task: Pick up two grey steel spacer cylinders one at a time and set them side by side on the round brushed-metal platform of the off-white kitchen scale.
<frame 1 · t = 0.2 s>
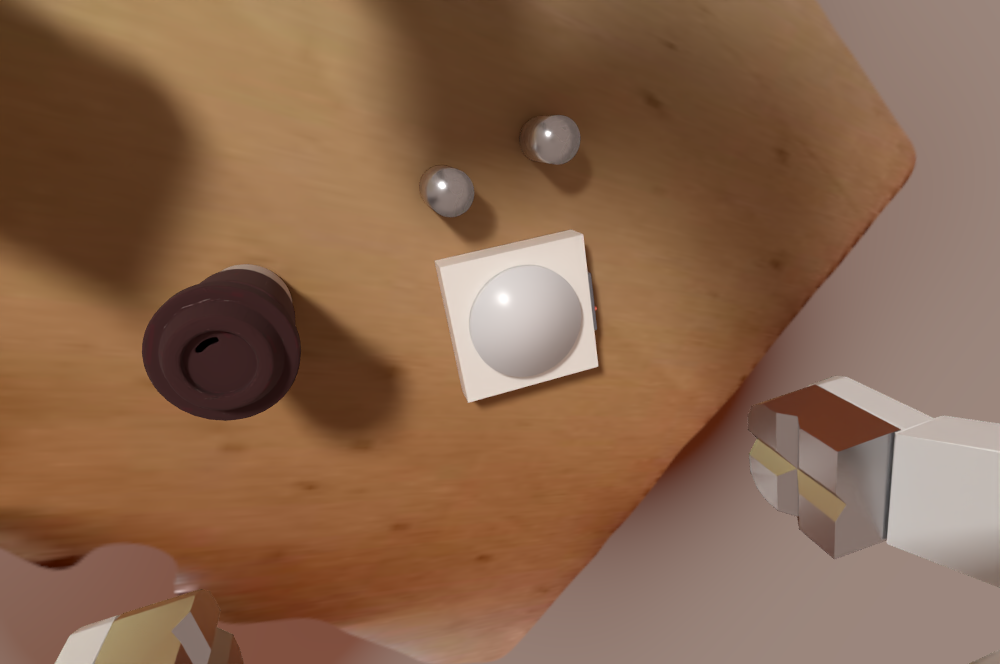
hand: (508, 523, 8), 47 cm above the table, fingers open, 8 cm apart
coffee cup: (250, 302, 52), on the table
spacer b: (539, 139, 54), on the table
scale: (515, 311, 59), on the table
spacer a: (440, 187, 53), on the table
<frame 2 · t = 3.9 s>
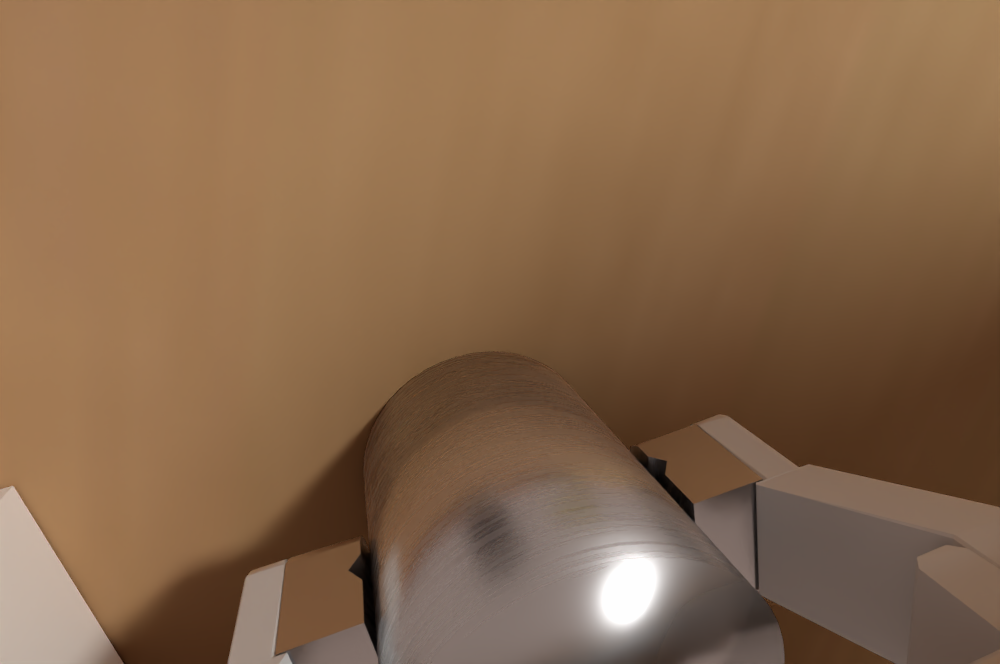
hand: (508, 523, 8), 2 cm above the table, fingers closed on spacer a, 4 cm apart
spacer a: (481, 459, 10), on the table, touching gripper
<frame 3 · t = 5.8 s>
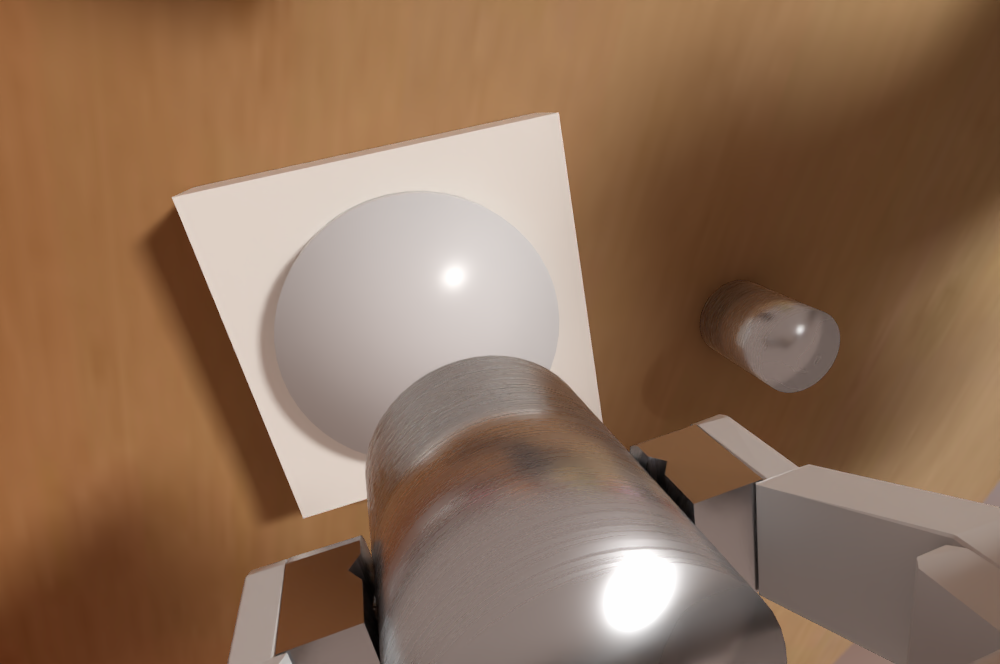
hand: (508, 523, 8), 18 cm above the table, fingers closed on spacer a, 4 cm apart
spacer b: (734, 316, 30), on the table
scale: (414, 307, 26), on the table
spacer a: (483, 463, 10), point 17 cm above the table, touching gripper
when the fingers open (7 cm above the table, at t = 8.1 s): spacer a drops 1 cm, resting on scale.
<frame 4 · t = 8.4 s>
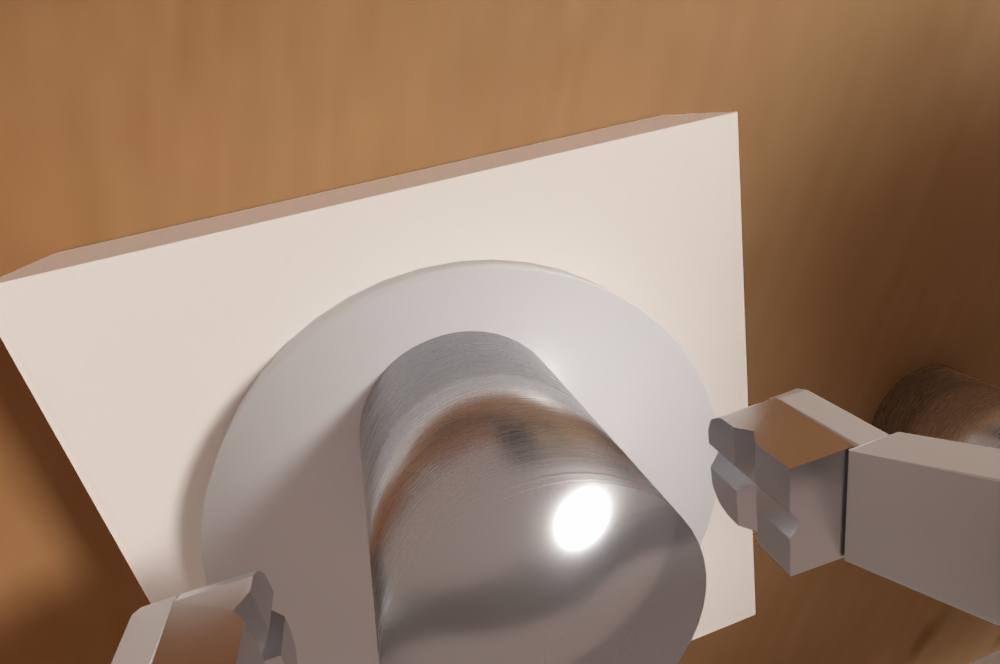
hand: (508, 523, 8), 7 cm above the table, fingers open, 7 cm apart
spacer b: (918, 417, 21), on the table
scale: (453, 435, 16), on the table
spacer a: (464, 428, 11), point 4 cm above the table, touching scale
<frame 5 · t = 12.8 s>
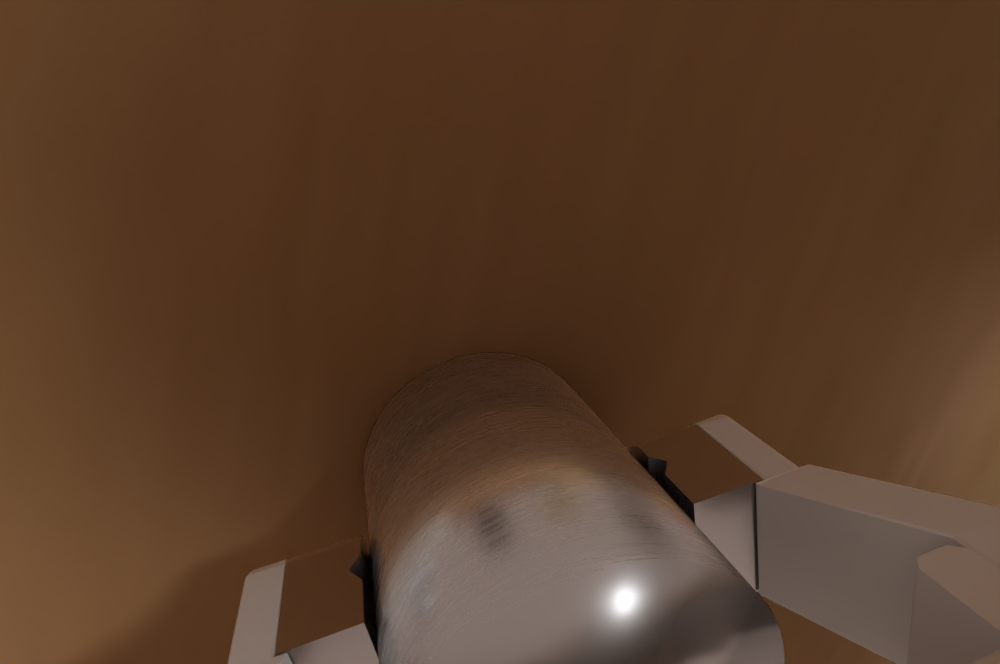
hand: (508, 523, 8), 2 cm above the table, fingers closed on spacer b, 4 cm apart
spacer b: (481, 460, 10), on the table, touching gripper
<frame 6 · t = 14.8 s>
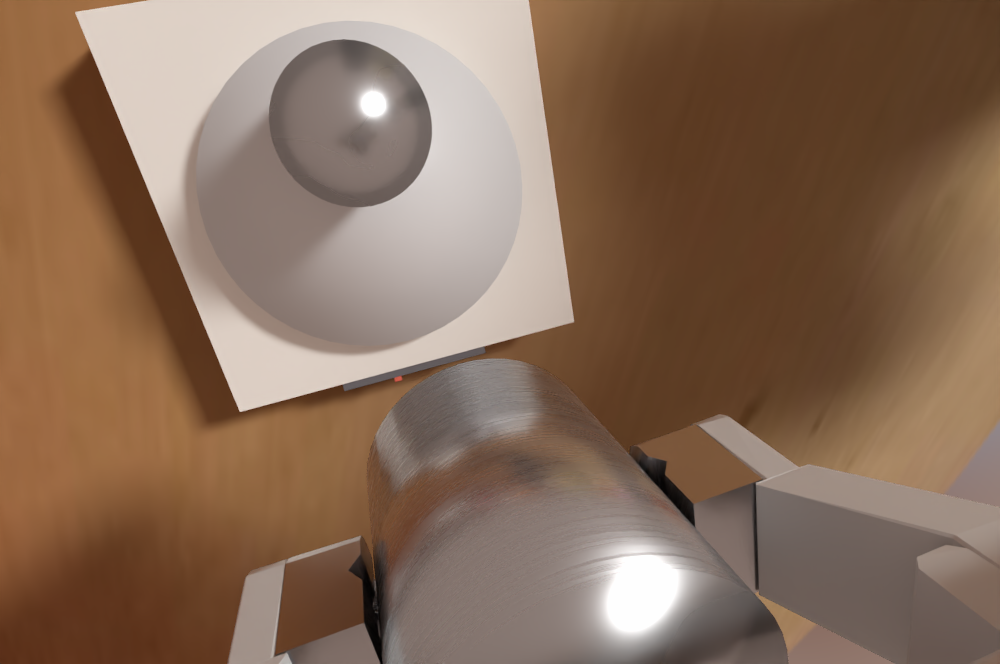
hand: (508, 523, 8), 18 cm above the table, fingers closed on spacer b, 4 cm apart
spacer b: (484, 466, 10), point 17 cm above the table, touching gripper
scale: (366, 185, 24), on the table
spacer a: (350, 124, 19), point 4 cm above the table, touching scale
when the fingers open (7 cm above the table, at t = 17.2 s): spacer b drops 1 cm, resting on scale.
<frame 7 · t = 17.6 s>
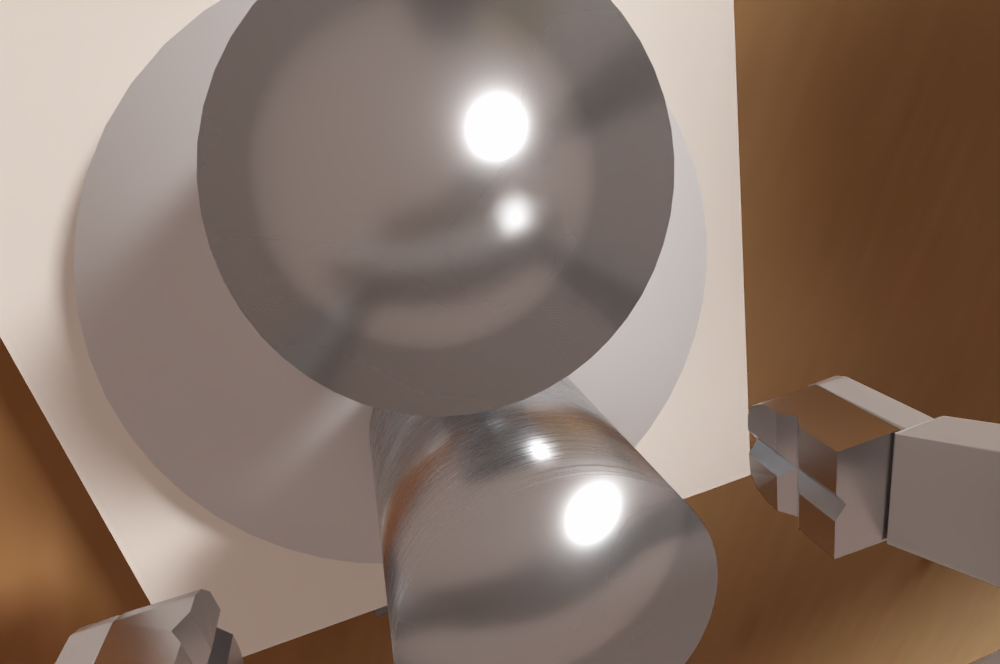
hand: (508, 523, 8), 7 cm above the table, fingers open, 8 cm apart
spacer b: (473, 426, 11), point 4 cm above the table, touching scale
scale: (408, 261, 14), on the table
spacer a: (399, 168, 9), point 4 cm above the table, touching scale
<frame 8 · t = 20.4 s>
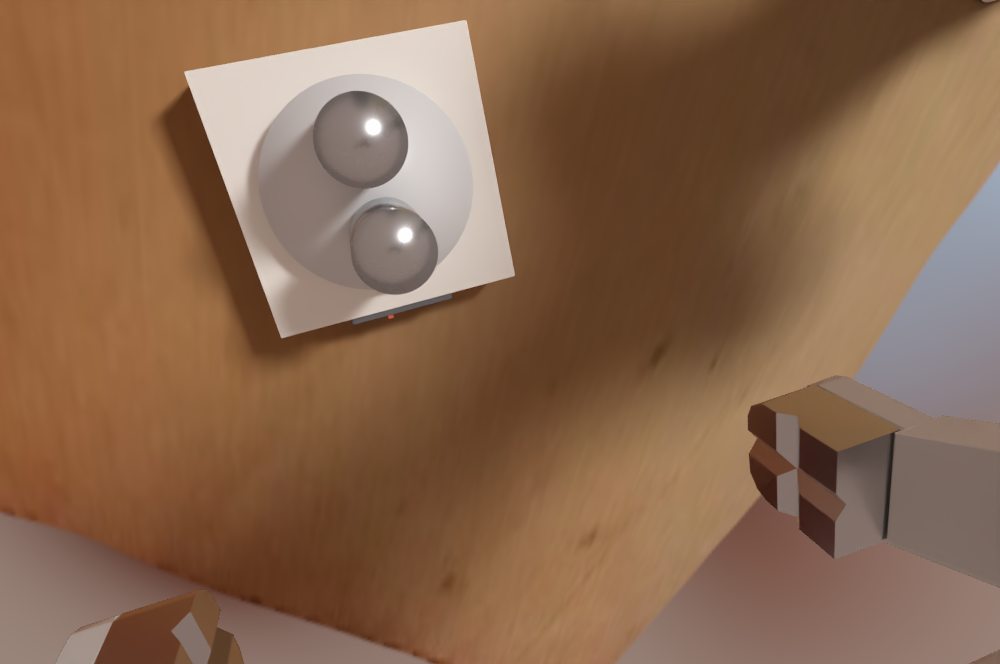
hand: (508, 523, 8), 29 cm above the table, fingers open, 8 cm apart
spacer b: (387, 234, 31), point 4 cm above the table, touching scale
scale: (367, 181, 34), on the table
spacer a: (357, 139, 29), point 4 cm above the table, touching scale
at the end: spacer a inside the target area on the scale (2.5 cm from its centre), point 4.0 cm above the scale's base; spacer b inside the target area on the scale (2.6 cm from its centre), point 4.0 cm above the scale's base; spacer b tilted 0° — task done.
